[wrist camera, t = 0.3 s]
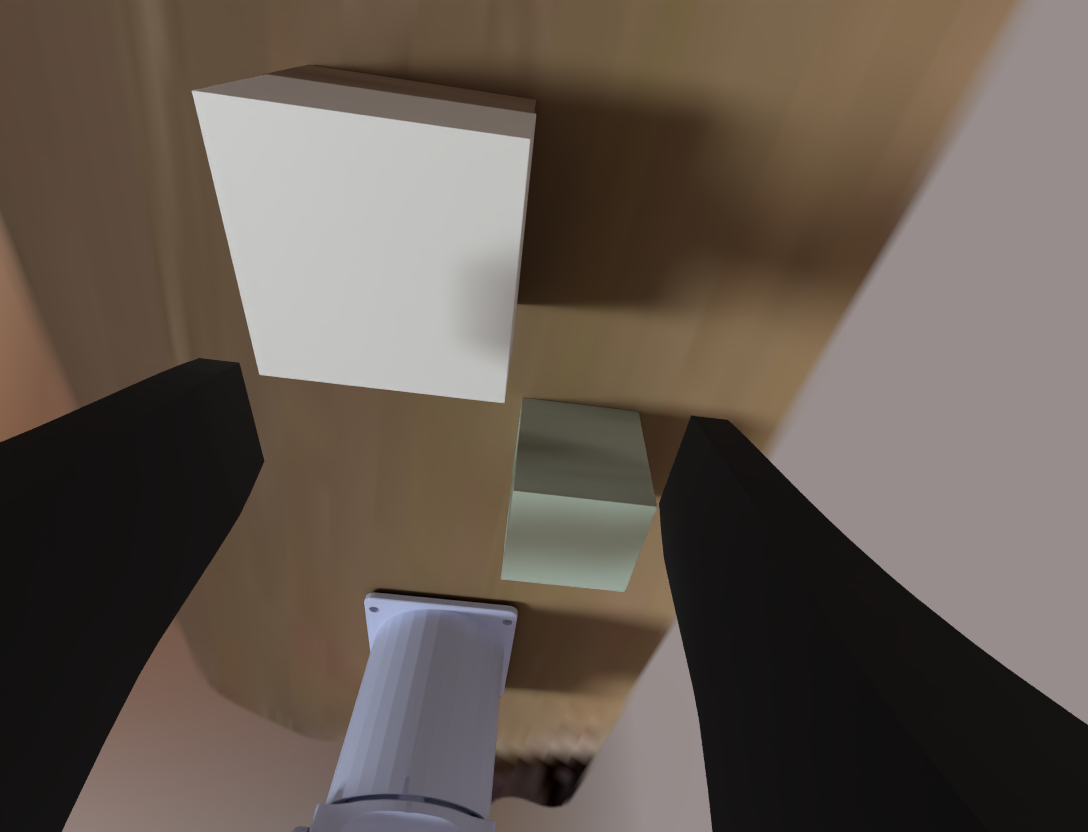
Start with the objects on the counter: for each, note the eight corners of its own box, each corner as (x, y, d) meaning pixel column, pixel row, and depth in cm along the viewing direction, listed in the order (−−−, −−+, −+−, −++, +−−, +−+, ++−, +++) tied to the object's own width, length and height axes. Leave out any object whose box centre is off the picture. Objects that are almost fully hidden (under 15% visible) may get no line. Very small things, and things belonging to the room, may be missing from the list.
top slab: (512, 343, 16) (504, 403, 13) (306, 318, 15) (259, 374, 13) (536, 114, 12) (530, 139, 10) (266, 74, 12) (191, 90, 9)
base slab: (515, 300, 18) (508, 344, 16) (336, 277, 18) (301, 318, 15) (536, 98, 14) (531, 115, 12) (312, 64, 14) (262, 74, 12)
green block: (613, 492, 23) (624, 591, 19) (511, 480, 23) (501, 579, 19) (638, 410, 21) (657, 506, 17) (522, 396, 20) (513, 490, 16)
